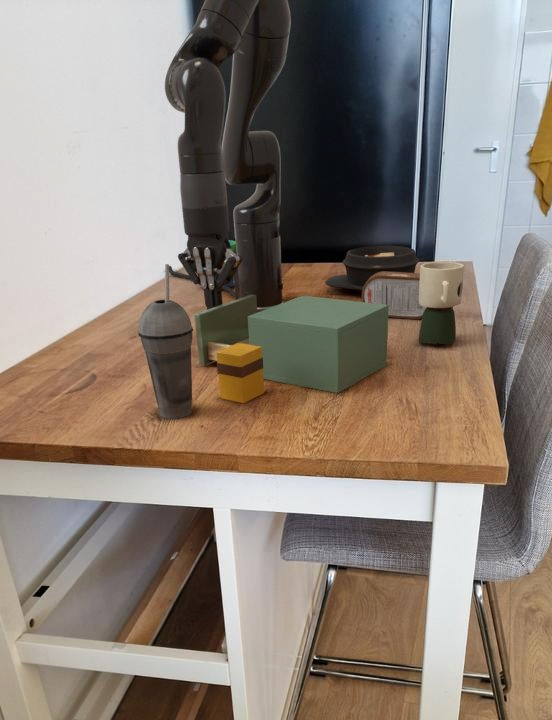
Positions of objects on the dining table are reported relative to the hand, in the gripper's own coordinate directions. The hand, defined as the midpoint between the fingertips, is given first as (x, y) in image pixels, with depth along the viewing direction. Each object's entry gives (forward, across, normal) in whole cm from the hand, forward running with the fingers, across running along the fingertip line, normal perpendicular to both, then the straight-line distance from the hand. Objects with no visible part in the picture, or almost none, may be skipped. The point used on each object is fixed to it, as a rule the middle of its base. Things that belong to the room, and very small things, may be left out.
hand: (214, 309), depth 124 cm
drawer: (+6, -12, +3) cm, 14 cm away
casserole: (+7, -5, -52) cm, 53 cm away
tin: (+7, -20, -32) cm, 38 cm away
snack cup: (+6, +32, -39) cm, 51 cm away
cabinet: (+7, -24, +3) cm, 25 cm away
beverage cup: (+7, -16, +28) cm, 33 cm away
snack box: (+7, -20, +18) cm, 28 cm away
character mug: (+7, -34, -19) cm, 39 cm away
